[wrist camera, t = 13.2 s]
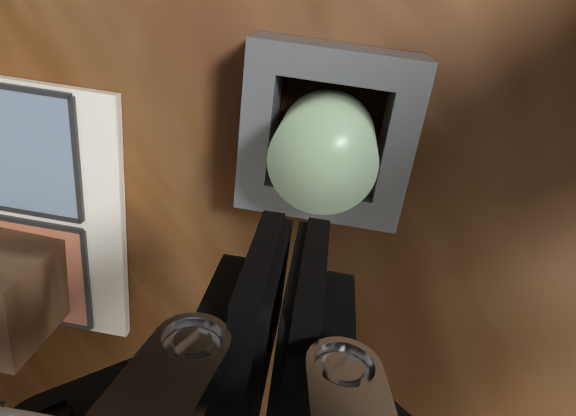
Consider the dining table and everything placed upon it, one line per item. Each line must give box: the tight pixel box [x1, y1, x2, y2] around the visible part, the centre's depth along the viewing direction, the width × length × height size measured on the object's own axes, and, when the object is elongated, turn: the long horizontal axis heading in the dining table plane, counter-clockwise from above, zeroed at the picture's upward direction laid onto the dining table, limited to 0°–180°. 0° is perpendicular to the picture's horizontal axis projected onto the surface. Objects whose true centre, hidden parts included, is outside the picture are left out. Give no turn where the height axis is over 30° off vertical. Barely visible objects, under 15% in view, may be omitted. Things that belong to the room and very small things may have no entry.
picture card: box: [0, 75, 130, 337], centre depth 28 cm, size 16×12×1 cm
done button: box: [267, 89, 379, 215], centre depth 20 cm, size 4×4×4 cm
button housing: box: [233, 31, 438, 234], centre depth 22 cm, size 8×8×3 cm
